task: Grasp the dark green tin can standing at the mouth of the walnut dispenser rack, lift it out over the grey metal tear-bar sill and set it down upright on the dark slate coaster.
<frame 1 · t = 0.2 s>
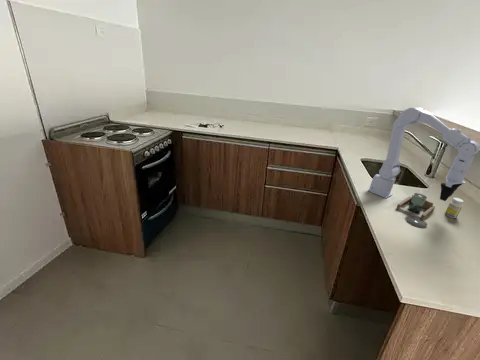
hand: (445, 197, 120), 10 cm above the worktop, fingers open, 7 cm apart
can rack: (414, 210, 129), on the worktop
tin can: (413, 210, 128), resting in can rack
coaster: (416, 222, 118), on the worktop
supplement bottle: (450, 215, 128), on the worktop
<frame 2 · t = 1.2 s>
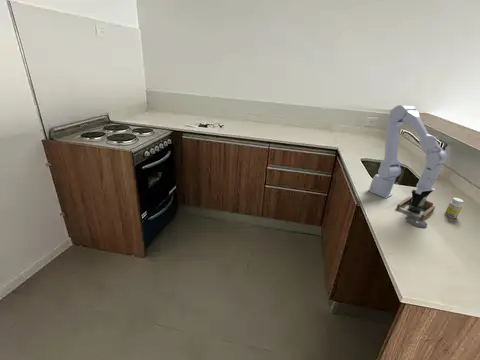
hand: (417, 204, 126), 4 cm above the worktop, fingers open, 7 cm apart
nothing on the worktop moved.
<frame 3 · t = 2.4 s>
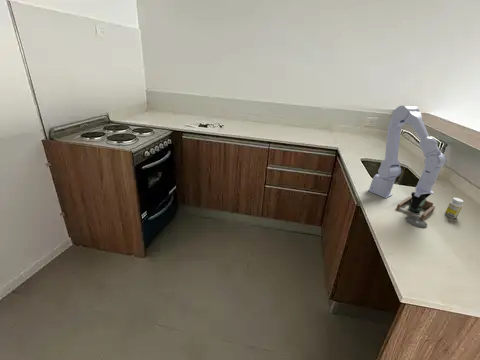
hand: (415, 206, 127), 2 cm above the worktop, fingers closed on tin can, 5 cm apart
tin can: (414, 210, 128), resting in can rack, touching gripper
everything else where it was.
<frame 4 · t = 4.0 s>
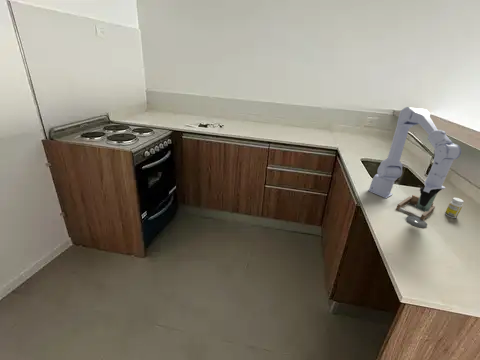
hand: (424, 203, 114), 9 cm above the worktop, fingers closed on tin can, 5 cm apart
tin can: (422, 208, 115), point 7 cm above the worktop, touching gripper
everything else where it was.
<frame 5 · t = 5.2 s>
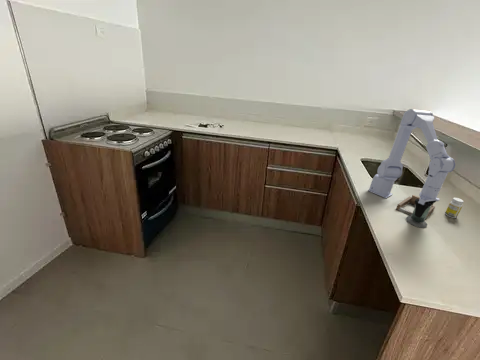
hand: (419, 214, 116), 4 cm above the worktop, fingers closed on tin can, 5 cm apart
tin can: (417, 219, 118), point 2 cm above the worktop, touching gripper
everything else where it was.
when the fingers open (4 cm above the worktop, at t = 5.9 s): tin can stays where it is, resting on coaster.
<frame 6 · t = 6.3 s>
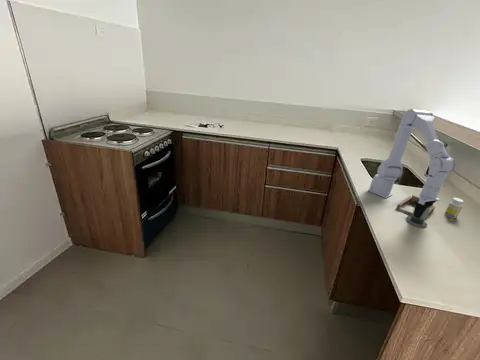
hand: (419, 214, 116), 4 cm above the worktop, fingers open, 7 cm apart
tin can: (416, 221, 118), point 1 cm above the worktop, touching coaster
everything else where it was.
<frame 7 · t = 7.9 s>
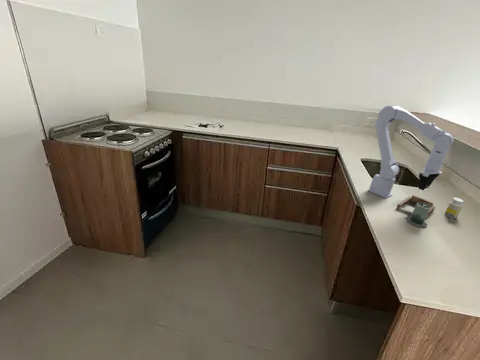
hand: (423, 187, 127), 10 cm above the worktop, fingers open, 7 cm apart
nothing on the worktop moved.
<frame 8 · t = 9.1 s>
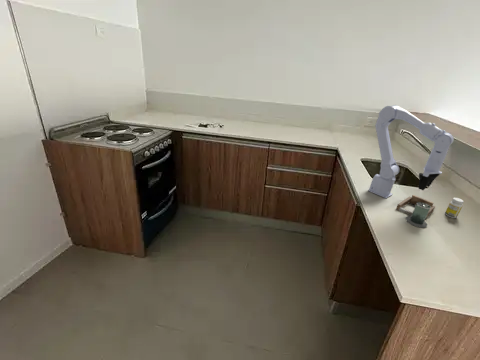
hand: (423, 187, 127), 10 cm above the worktop, fingers open, 7 cm apart
nothing on the worktop moved.
at the end: tin can 0.1 cm from the coaster (horizontally); tin can tilted 0°; the gripper is holding nothing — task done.
